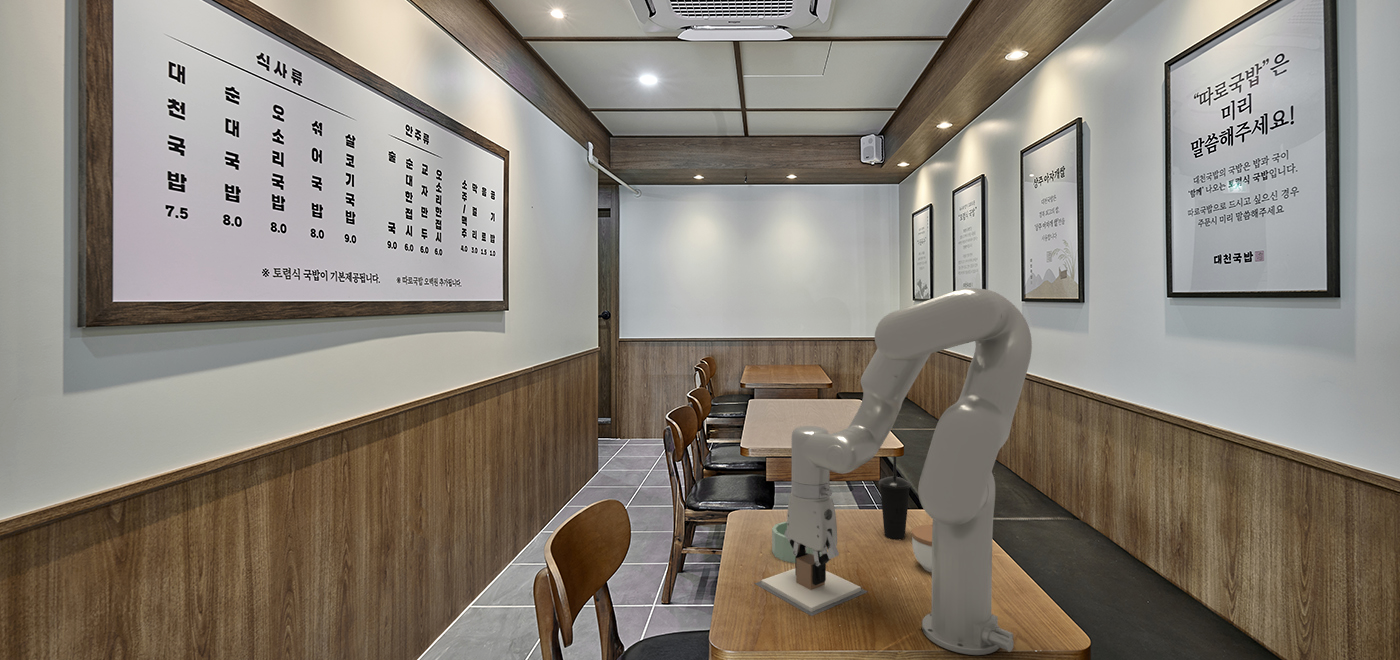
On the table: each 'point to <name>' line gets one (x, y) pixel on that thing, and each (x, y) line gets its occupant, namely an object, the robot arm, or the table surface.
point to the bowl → (784, 544)
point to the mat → (817, 609)
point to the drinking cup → (894, 504)
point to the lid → (810, 586)
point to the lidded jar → (923, 545)
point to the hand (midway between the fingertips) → (810, 577)
